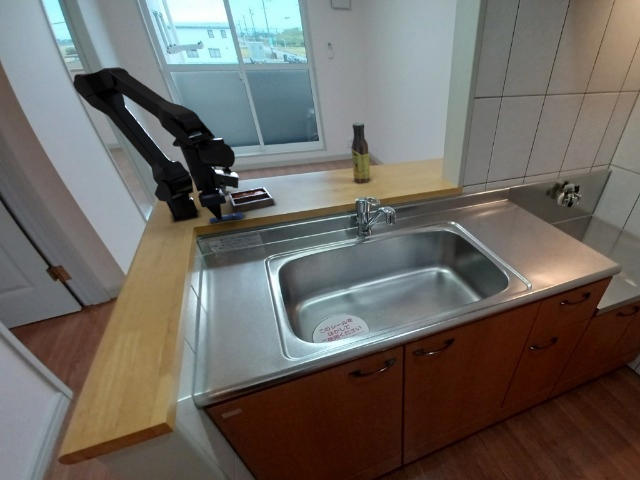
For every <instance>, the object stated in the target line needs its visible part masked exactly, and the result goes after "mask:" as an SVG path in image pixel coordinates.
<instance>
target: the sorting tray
mask: <svg viewBox="0 0 640 480" xmlns="http://www.w3.org/2000/svg"><path fill="white" fill-rule="evenodd" d="M256 191H263V193H261V194H255V195H250V196H245V197H240V198H234V196H236V195H242V194H247V193H254V192H256ZM227 196H228V198H229V201H230V203H231V205H232V207H233V209H234V212H235V213H236V212H242V213H244V212H248V211H253V210H257V209H262V208H266V207H267V208H268V207H272V206H275V202H274V198H273V196H272V195H271V194H270V192H269V191H268V190H267V188H266V187H265V186H262V187H257V188H251V189H246V190H240V191H234V192H229V194H228V195H227Z"/></svg>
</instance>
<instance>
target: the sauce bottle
mask: <svg viewBox="0 0 640 480" xmlns="http://www.w3.org/2000/svg"><path fill="white" fill-rule="evenodd" d="M352 129H353V139H352V143H351V148H350V149H351V162H352V172H353V173H352V174H353V179H354V181H355V182H357V183H358V184H359V183H363V184H364V183H368V182H369V181H370V179H371V171H370V170H371V169H370V153H369V144H368V143H369V142H368V141H367V140H366V138H365V122H364V123H363V122H354V123H352Z"/></svg>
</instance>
